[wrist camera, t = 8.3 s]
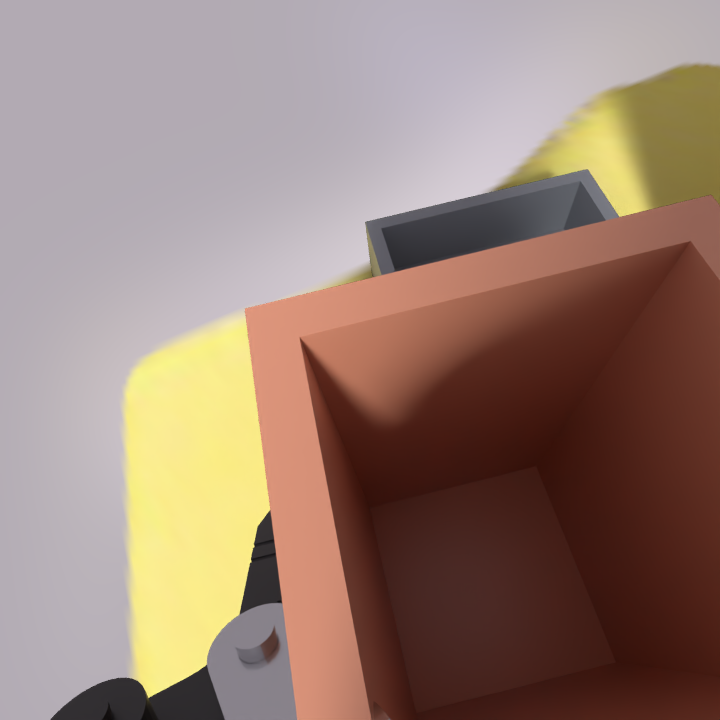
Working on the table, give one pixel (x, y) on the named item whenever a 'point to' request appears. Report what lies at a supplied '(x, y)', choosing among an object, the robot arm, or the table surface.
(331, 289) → the orange square cup
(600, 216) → the charcoal crate
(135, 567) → the table surface
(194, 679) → the robot arm
